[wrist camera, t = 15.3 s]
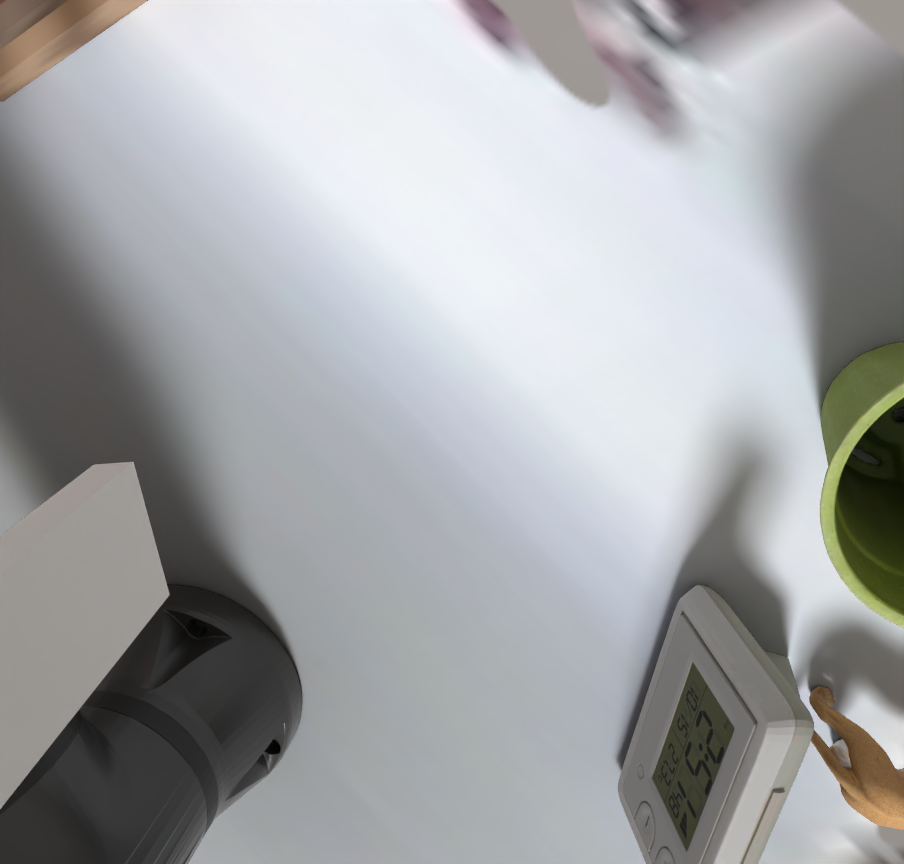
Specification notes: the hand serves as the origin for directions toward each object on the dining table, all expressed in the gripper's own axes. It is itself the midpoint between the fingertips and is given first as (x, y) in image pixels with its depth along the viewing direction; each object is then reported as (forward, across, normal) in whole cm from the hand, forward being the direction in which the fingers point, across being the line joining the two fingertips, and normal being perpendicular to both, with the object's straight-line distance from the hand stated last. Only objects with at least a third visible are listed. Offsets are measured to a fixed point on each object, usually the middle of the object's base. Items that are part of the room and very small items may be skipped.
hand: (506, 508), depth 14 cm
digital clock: (+28, +7, -27) cm, 40 cm away
